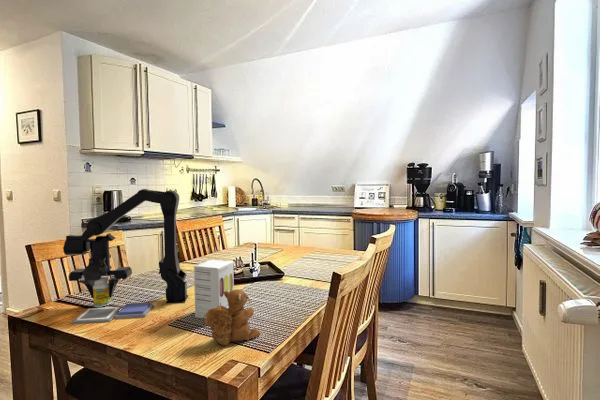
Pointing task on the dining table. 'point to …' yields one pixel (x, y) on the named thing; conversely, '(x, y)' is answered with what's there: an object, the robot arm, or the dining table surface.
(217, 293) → the supplement box
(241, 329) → the stuffed squirrel
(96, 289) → the supplement bottle
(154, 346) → the dining table surface
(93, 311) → the marked board
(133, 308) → the ink pad
